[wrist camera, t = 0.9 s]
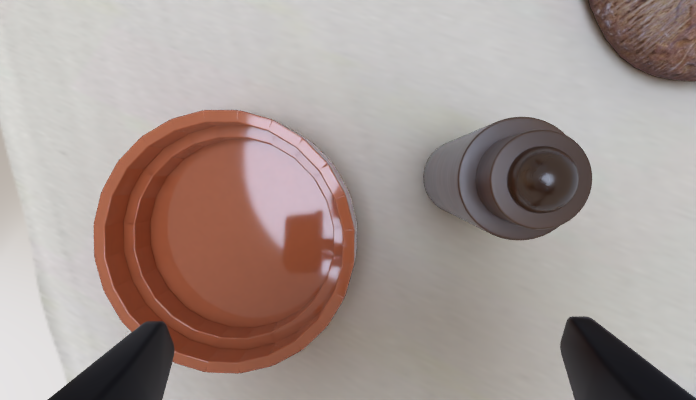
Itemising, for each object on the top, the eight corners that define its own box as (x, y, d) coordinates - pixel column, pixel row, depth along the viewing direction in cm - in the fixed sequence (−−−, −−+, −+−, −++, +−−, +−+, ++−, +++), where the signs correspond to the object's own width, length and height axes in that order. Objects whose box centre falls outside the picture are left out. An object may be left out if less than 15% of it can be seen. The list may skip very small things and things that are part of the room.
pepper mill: (472, 227, 25) (579, 283, 12) (409, 189, 25) (448, 206, 12) (512, 163, 24) (665, 153, 12) (448, 126, 25) (530, 74, 12)
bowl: (285, 383, 26) (269, 421, 22) (98, 270, 26) (49, 287, 22) (399, 194, 25) (405, 197, 21) (203, 77, 25) (171, 59, 21)
